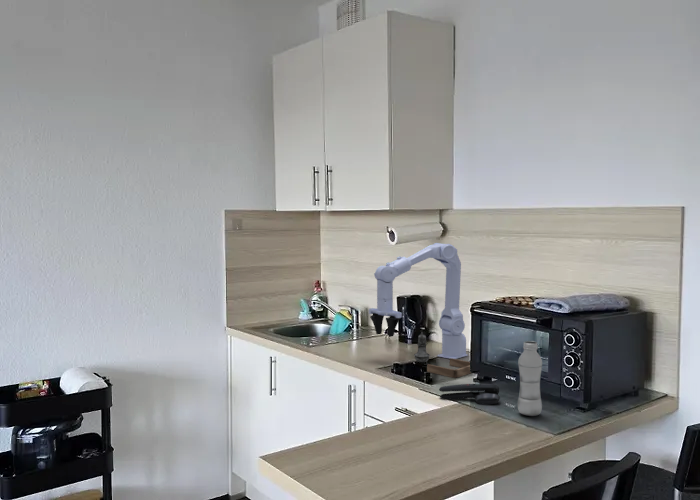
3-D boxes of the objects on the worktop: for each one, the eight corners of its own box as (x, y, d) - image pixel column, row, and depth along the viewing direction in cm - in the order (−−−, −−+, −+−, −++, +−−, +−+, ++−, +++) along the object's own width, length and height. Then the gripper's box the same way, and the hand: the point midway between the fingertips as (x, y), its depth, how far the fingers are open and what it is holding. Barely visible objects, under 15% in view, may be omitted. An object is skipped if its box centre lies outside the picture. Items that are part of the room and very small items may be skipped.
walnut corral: (451, 364, 229) (451, 358, 229) (479, 370, 220) (479, 363, 220) (427, 371, 219) (427, 364, 219) (455, 378, 211) (455, 370, 210)
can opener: (500, 399, 187) (500, 381, 186) (499, 406, 180) (499, 387, 180) (440, 395, 192) (440, 377, 191) (437, 401, 185) (437, 383, 185)
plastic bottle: (518, 418, 169) (519, 344, 168) (515, 410, 176) (516, 339, 175) (543, 419, 168) (544, 345, 167) (539, 411, 175) (540, 340, 174)
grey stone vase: (411, 365, 229) (411, 332, 228) (417, 362, 234) (417, 330, 233) (426, 367, 226) (426, 334, 225) (432, 363, 231) (432, 331, 230)
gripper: (363, 297, 233) (363, 334, 234) (392, 301, 223) (392, 339, 223) (376, 296, 238) (376, 331, 239) (405, 299, 228) (405, 336, 228)
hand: (384, 335), depth 231 cm, fingers open, 5 cm apart
